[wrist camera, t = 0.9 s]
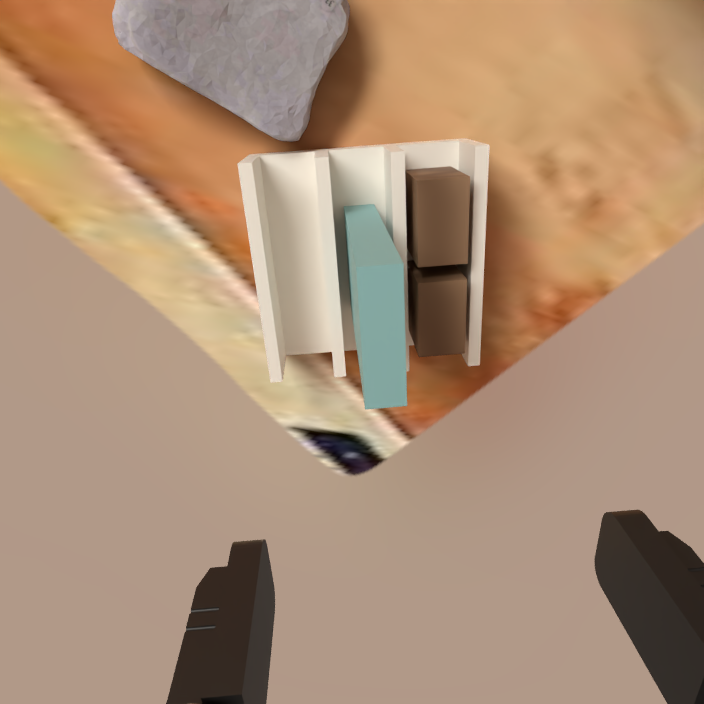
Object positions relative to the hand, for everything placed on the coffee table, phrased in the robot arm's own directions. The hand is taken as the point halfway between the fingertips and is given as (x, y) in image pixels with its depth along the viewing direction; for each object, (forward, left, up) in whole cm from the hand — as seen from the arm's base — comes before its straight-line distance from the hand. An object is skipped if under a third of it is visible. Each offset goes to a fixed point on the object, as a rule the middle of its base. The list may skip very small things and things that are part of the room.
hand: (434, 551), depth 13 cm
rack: (0, 0, -28) cm, 28 cm away
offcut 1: (-5, -3, -26) cm, 27 cm away
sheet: (0, 0, -26) cm, 26 cm away
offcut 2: (-5, +3, -26) cm, 27 cm away
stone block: (+6, -14, -28) cm, 32 cm away
